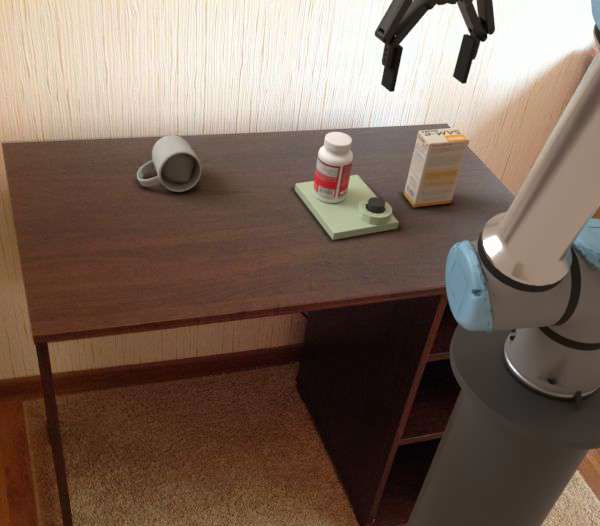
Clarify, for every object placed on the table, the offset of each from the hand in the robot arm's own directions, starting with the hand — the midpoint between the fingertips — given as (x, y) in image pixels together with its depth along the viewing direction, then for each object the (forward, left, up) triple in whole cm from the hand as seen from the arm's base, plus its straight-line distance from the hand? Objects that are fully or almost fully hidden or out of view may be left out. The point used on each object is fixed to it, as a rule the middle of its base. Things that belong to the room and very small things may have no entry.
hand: (424, 84), depth 118 cm
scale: (+5, +7, -25) cm, 26 cm away
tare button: (0, +4, -22) cm, 23 cm away
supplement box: (+4, -10, -25) cm, 27 cm away
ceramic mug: (+21, +35, -25) cm, 48 cm away
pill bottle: (+8, +9, -24) cm, 27 cm away
